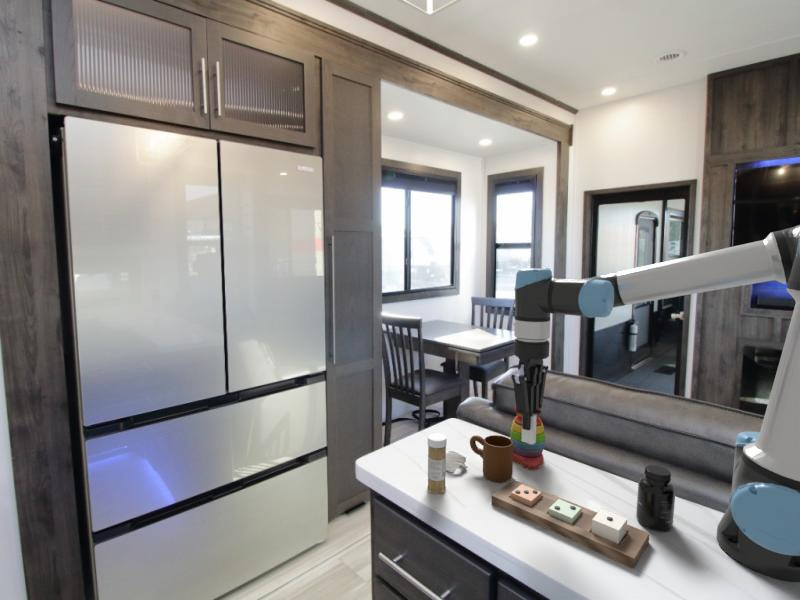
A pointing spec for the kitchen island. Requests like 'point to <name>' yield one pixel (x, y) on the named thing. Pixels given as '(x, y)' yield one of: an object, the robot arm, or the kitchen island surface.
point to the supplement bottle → (656, 499)
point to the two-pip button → (565, 511)
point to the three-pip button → (526, 495)
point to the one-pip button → (609, 526)
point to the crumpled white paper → (454, 461)
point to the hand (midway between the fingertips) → (528, 441)
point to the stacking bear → (527, 444)
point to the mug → (495, 456)
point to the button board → (574, 525)
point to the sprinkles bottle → (436, 463)
